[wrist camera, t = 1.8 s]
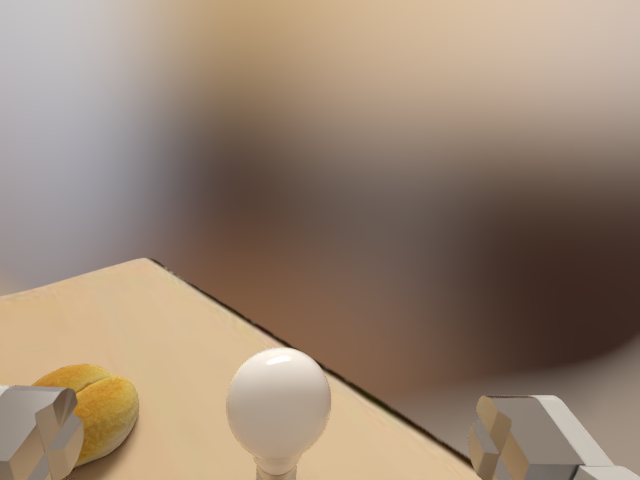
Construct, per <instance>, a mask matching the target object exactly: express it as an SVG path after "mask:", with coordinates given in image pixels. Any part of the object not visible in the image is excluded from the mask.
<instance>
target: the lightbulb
mask: <svg viewBox="0 0 640 480" xmlns="http://www.w3.org/2000/svg"><path fill="white" fill-rule="evenodd" d="M330 411H331V392H330V387H329V384H328V381H327V378H326V376H325V374H324V372H323V371H322V369H321V368H320V367H319V365H318V364H317V363H316V362H315V361H314V360H313V359H312V358H310V357H309V356H308V355H306V354H304V353H303V352H300V351H298V350H295V349H291V348H285V347H277V348H270V349H266V350H263V351H261V352H259V353H257V354H255V355H253V356H252V357H250V358H249V359H248V360H247V361H245V362H244V363H243V364H242V366H241V367H240V368H239V369H238V370H237V372H236V373H235V375H234V377H233V379H232V381H231V383H230V386H229V389H228V393H227V399H226V413H227V419H228V423H229V426H230V429H231V431H232V433H233V435H234V437H235V438H236V440H237V441H238V442H239V444H240V445H241V446H242V447H243V448H244V449H245V450H247V451H248V452H249V453H251V454H252V456H253V459H254V461H255V463H256V464H257V473H256V475H257V477H256V480H296V472H297V463H298V462H299V460H300V458H301V456H302V454H303V453H305V452H306V451H307V450H309V449H310V448H311V447H312V446H313V445H314V444H315V443H316V442H317V441H318V439H319V438H320V437H321V435H322V433H323V432H324V430H325V428H326V426H327V423H328V420H329V416H330Z"/></svg>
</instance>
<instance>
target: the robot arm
mask: <svg viewBox="0 0 640 480" xmlns="http://www.w3.org/2000/svg"><path fill="white" fill-rule="evenodd" d="M77 404H78V401H77V397H76V394H75V390H73V389H70V388H64V387H41V386H17V385H15V386H4V385H0V480H62V479H63V478H64V477H66V476H67V475H68V474H70V472H71V471H72V469H73V467H74V465H75V463H76V461H77V460H78V457H79V454H80V451H81V447H82V444H83V435H84V429H83V424H82V420H81V419H80V418H79V417H78V416H76V415H75V414H74V413H73V412H72V411H73V410H74V408H75V407H76V405H77ZM476 410H477V412H478V414H479V416H480V418H479V419H478V420H477V421H476V422H474V423H473V424H472V425H471V428H470V432H469V436H468V445H469V454H470V458H471V462H472V464H473V467H474V469H475V471H476V474H477V475H478V476H479V477H480V478H481V479H482V480H640V477H639V476H637V475H636V474H634V473H632V472H631V471H630V470H628V469H626V468H625V467H623V466H615V465H614V464H613V463H612V462H611V461H610V459H609V458H608V457H607V456H606V454H605V453H604V452H603V451H602V450H601V448H600V447H599V446H598V445H597V443H596V442H595V441H594V440H593V439H592V437H591V436H590V435H589V433H588V432H587V431H586V430H585V429H584V427H583V426H582V425H581V424H580V422H579V421H578V420H577V419H576V418H575V416H574V415H573V414H572V413H571V411H570V410H569V409H568V408H567V406H566V405H565V404H564V403H563V401H562V400H560V399H559V398H557V397H556V396H541V395H540V396H539V395H537V396H536V395H535V396H534V395H531V396H522V395H521V396H519V395H518V396H517V395H483V396H482V397H481V398H480V399H479V401H478V404H477V407H476Z"/></svg>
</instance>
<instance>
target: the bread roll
mask: <svg viewBox="0 0 640 480" xmlns="http://www.w3.org/2000/svg"><path fill="white" fill-rule="evenodd" d="M31 386H41V387H64V388H70V389H73V390H75V394H76V397H77V401H78V404H77V405H76V407H75V408H74V410H73V411H72V412H73V413H74V414H75V415H76V416H78V417H79V418H80V419H81V420H82V424H83V429H84V435H83V444H82V447H81V451H80V454H79V457H78V460H77V461H76V463H75V465H74V467H73V468H75V467H78V466H81V465H83V464H86V463H88V462H90V461H93V460H96V459H99V458H101V457H103V456H106V455H108V454H109V453H111V452H112V451H113V450H115V449H116V448H117V447H118V446H119V445H120V444H121V443H122V442H123V441H124V440H125V438H126V437H127V436H128V435H129V433H130V432H131V430H132V428H133V426H134V424H135V422H136V419H137V416H138V412H139V399H138V394H137V391H136V389H135V387H134V385H133V384H132V382H130V381H129V380H128V379H126V378H123V377H118V376H116V375H114V374H112V373H111V372H109V371H107V370H105V369H103V368H101V367H98V366H92V365H88V364H81V365H74V366H67V367H63V368H60V369H58V370H56V371H54V372H52V373H50V374H48V375H46V376H44V377H43V378H41V379H40V380H38V381H37V382H35V383H34V384H33V385H31Z"/></svg>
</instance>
